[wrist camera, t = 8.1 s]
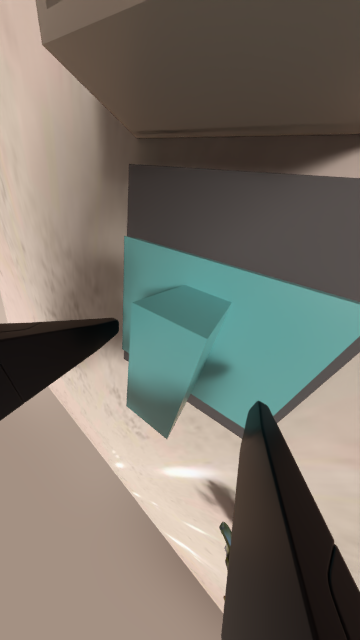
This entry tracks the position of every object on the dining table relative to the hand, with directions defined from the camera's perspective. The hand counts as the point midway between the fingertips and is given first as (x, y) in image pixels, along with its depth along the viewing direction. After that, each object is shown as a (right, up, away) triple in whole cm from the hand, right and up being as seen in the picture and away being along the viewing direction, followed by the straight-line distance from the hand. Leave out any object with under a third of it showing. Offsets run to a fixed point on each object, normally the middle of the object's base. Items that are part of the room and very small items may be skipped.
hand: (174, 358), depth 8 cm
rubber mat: (+2, +2, +4) cm, 5 cm away
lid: (+2, +1, +4) cm, 4 cm away
